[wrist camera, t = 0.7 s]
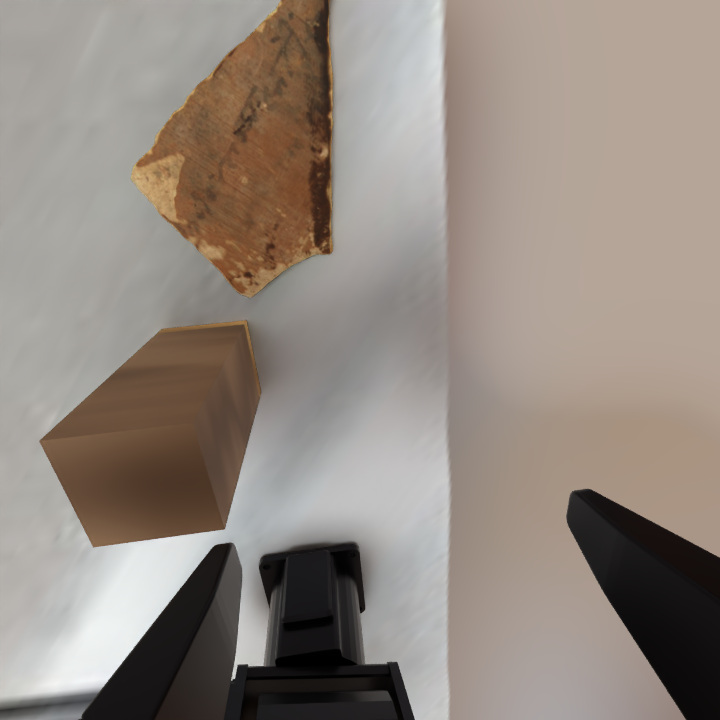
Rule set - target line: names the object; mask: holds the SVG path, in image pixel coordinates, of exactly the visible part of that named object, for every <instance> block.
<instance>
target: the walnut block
mask: <svg viewBox="0 0 720 720" xmlns="http://www.w3.org/2000/svg"><path fill="white" fill-rule="evenodd" d="M260 395H261V389H260V384H259V379H258V374H257V369H256V364H255V360H254V355H253V350H252V345H251V340H250V335H249V330H248V326H247V321H246V320H245V321H235V322H225V323H216V324H206V325H196V326H186V327H177V328H167V329H161V330H160V331H159V332H158V333H157V334H156V335H155V336H154V337H153V338H152V339H150V340H149V341H148V342H147V343H146V344H145V345H144V346H143V347H142V348H141V349H139V350H138V351H137V352H136V353H135V354H134V355H133V356H132V357H131V358H130V359H129V360H127V361H126V362H125V363H124V364H123V365H122V366H121V367H120V368H119V369H118V370H116V371H115V372H114V373H113V374H112V375H111V376H110V377H109V378H108V379H107V380H106V381H104V382H103V383H102V384H101V385H100V386H99V387H98V388H97V389H96V390H95V391H93V392H92V393H91V394H90V395H89V396H88V397H87V398H86V399H85V400H84V401H83V402H81V403H80V404H79V405H78V406H77V407H76V408H75V409H74V410H73V411H72V412H70V413H69V414H68V415H67V416H66V417H65V418H64V419H63V420H62V421H61V422H60V423H58V424H57V425H56V426H55V427H54V428H53V429H52V430H51V431H50V432H49V433H47V434H46V435H45V436H44V437H43V438H42V439H41V440H40V443H41V445H42V447H43V449H44V451H45V453H46V455H47V457H48V459H49V461H50V463H51V465H52V467H53V469H54V471H55V473H56V475H57V477H58V479H59V481H60V483H61V485H62V487H63V489H64V491H65V493H66V494H67V496H68V498H69V500H70V502H71V504H72V506H73V508H74V510H75V512H76V514H77V516H78V518H79V520H80V522H81V524H82V526H83V528H84V530H85V532H86V534H87V536H88V538H89V540H90V542H91V544H92V546H93V547H99V546H107V545H114V544H121V543H128V542H136V541H143V540H150V539H158V538H165V537H172V536H179V535H187V534H194V533H201V532H209V531H216V530H223V529H225V526H226V523H227V519H228V515H229V511H230V508H231V504H232V500H233V496H234V493H235V489H236V485H237V481H238V478H239V474H240V470H241V466H242V463H243V459H244V455H245V451H246V448H247V444H248V440H249V436H250V433H251V429H252V425H253V421H254V418H255V414H256V410H257V406H258V403H259V399H260Z"/></svg>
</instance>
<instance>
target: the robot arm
mask: <svg viewBox="0 0 720 720" xmlns="http://www.w3.org/2000/svg"><path fill="white" fill-rule="evenodd" d="M566 518H567V523H568V526H569V528H570V530H571V532H572V534H573V536H574V538H575V540H576V542H577V543H578V545H579V547H580V549H581V551H582V553H583V555H584V557H585V559H586V560H587V562H588V564H589V566H590V568H591V570H592V572H593V574H594V576H595V578H596V580H597V581H598V583H599V585H600V587H601V589H602V590H603V592H604V594H605V595H606V597H607V598H608V600H609V602H610V603H611V605H612V606H613V608H614V609H615V611H616V612H617V614H618V615H619V617H620V618H621V620H622V622H623V623H624V625H625V626H626V628H627V629H628V631H629V632H630V634H631V635H632V637H633V639H634V640H635V642H636V643H637V645H638V646H639V648H640V649H641V651H642V652H643V654H644V656H645V657H646V659H647V660H648V662H649V663H650V665H651V666H652V668H653V669H654V671H655V673H656V674H657V676H658V677H659V679H660V680H661V682H662V683H663V685H664V686H665V687H666V689H667V691H668V693H669V694H670V696H671V697H672V699H673V700H674V702H675V703H676V705H677V706H678V708H679V710H680V711H681V713H682V714H683V716H684V717H685V719H686V720H720V557H717V556H716V555H714V554H712V553H710V552H708V551H706V550H704V549H702V548H701V547H699V546H697V545H695V544H693V543H691V542H689V541H687V540H686V539H684V538H682V537H680V536H678V535H676V534H674V533H672V532H670V531H668V530H667V529H665V528H663V527H661V526H659V525H657V524H655V523H653V522H652V521H650V520H648V519H646V518H644V517H642V516H640V515H638V514H636V513H635V512H633V511H631V510H629V509H627V508H625V507H623V506H621V505H619V504H618V503H615V502H614V501H611V500H610V499H608V498H606V497H604V496H602V495H601V494H599V493H597V492H595V491H593V490H590V489H583V490H575V491H572V493H571V494H570V498H569V505H568V510H567V515H566ZM259 571H260V574H261V578H262V582H263V586H264V589H265V593H266V597H267V601H268V604H269V608H270V612H269V621H268V630H267V640H266V649H265V658H264V666H250V667H248V664H243V665H238V667H237V672H236V677H235V679H233V681H231V677H232V672H233V667H234V660H235V654H236V645H237V634H238V622H239V610H240V599H241V587H242V567H241V564H240V560H239V557H238V554H237V551H236V547H235V545H234V544H233V543H225V544H218V545H215V546H214V547H213V548H212V549H211V550H210V551H209V553H208V554H207V555H206V557H205V558H204V559H203V560H202V562H201V563H200V564H199V565H198V567H197V568H196V569H195V571H194V572H193V573H192V574H191V576H190V577H189V578H188V580H187V581H186V582H185V583H184V585H183V586H182V587H181V588H180V590H179V591H178V592H177V594H176V595H175V596H174V597H173V599H172V600H171V601H170V603H169V604H168V605H167V606H166V608H165V609H164V610H163V611H162V613H161V614H160V615H159V617H158V618H157V619H156V620H155V622H154V623H153V624H152V625H151V627H150V628H149V629H148V631H147V632H146V633H145V634H144V636H143V637H142V638H141V640H140V641H139V642H138V643H137V645H136V646H135V647H134V648H133V650H132V651H131V652H130V654H129V655H128V656H127V657H126V659H125V660H124V661H123V663H122V664H121V665H120V666H119V668H118V669H117V670H116V671H115V673H114V674H113V675H112V677H111V678H110V679H109V680H108V682H107V683H106V684H105V686H104V687H103V688H102V689H101V691H100V692H99V693H98V694H97V696H96V697H95V698H94V700H93V701H92V702H91V703H90V705H89V706H88V707H87V708H86V710H85V711H84V712H83V714H82V719H78V720H415V719H414V716H413V712H412V709H411V706H410V702H409V699H408V696H407V693H406V689H405V686H404V683H403V679H402V676H401V673H400V669H399V666H398V663H397V662H387V664H365V656H364V647H363V637H362V628H361V618H360V613H362V612H364V610H365V600H364V591H363V581H362V572H361V562H360V553H359V547H358V546H357V545H355V544H349V545H342V546H335V547H328V548H321V549H314V550H307V551H300V552H293V553H286V554H279V555H272V556H266V557H263V558H261V560H260V563H259Z"/></svg>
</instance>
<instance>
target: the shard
mask: <svg viewBox="0 0 720 720" xmlns="http://www.w3.org/2000/svg"><path fill="white" fill-rule="evenodd" d="M329 1H330V0H281V1H280V3H279V4H278V6H277V8H276V9H275V10H274V11H273V12H272V13H270V14H269V15H268V17H267V18H266V19H265V20H264V21H263V22H262V23H261V24H260V25H259V26H258V28H256V29H255V31H254V32H252V33H251V34H250V36H248V37H247V38H246V39H245V41H244V42H242V43H240V44H238V45H237V46H236V47H235V48H234V49H233V50H231V51H230V52H229V53H228V54H227V55H226V56H225V58H224V59H223V60H222V61H221V62H220V63H219V64H218V66H217V67H216V68H215V69H214V71H213V72H212V73H211V74H210V75H209V76H208V77H207V78H206V79H205V80H203V81H202V82H201V83H199V84H198V85H197V87H196V88H195V89H194V90H193V91H192V92H191V94H190V95H189V96H187V99H186V101H185V103H184V105H183V106H181V107H180V108H179V109H178V110H177V111H175V112H174V113H173V114H172V115H171V117H170V119H169V120H168V121H167V123H166V124H165V125H164V127H163V128H162V129H161V130H160V131H159V132H158V134H157V135H156V136H155V144H154V145H153V147H152V148H151V149H150V150H149V151H148V152H147V153H146V154H145V155H144V156H143V157H142V158H141V159H140V160H139V161H138V162H137V163H136V164H135V165H134V166H133V170H132V176H131V180H132V182H133V183H134V184H135V185H136V186H137V188H138V189H139V190H140V191H141V192H142V193H143V194H144V195H145V196H146V197H147V198H148V200H149V201H150V202H151V203H152V204H153V205H154V206H155V208H156V209H157V211H158V212H159V214H160V215H161V216H162V217H163V218H164V219H165V220H166V221H167V222H169V223H170V224H171V225H172V226H173V227H174V228H175V229H176V230H177V231H178V232H179V233H180V234H181V235H182V236H183V237H184V238H185V239H186V240H188V241H190V242H191V243H192V244H193V245H194V246H195V247H196V248H197V250H198V251H199V252H201V253H202V254H203V255H204V257H205V258H207V259H208V260H209V261H210V262H211V263H212V264H213V265H214V266H215V267H216V268H217V269H218V270H219V271H220V272H221V273H222V274H223V276H224V277H225V279H226V280H227V281H228V282H229V283H230V284H231V286H232V287H233V288H234V289H235V290H236V291H237V292H238V293H239V294H242V295H244V296H246V297H248V298H250V297H253V296H254V295H255V294H257V293H258V292H259V291H260V290H262V289H263V288H264V287H265V286H266V284H267V283H269V282H271V281H272V280H273V279H274V278H276V277H277V276H278V275H280V274H281V273H282V272H283V271H285V270H286V269H287V268H289V267H290V266H292V265H294V264H297V263H299V262H300V261H302V260H304V259H307V258H309V257H311V256H313V255H317V254H323V255H326V254H331V253H332V251H333V245H332V239H331V234H332V231H331V212H332V201H331V198H332V190H331V143H332V126H333V118H332V109H333V105H332V104H333V73H332V65H331V49H330V44H329Z"/></svg>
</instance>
